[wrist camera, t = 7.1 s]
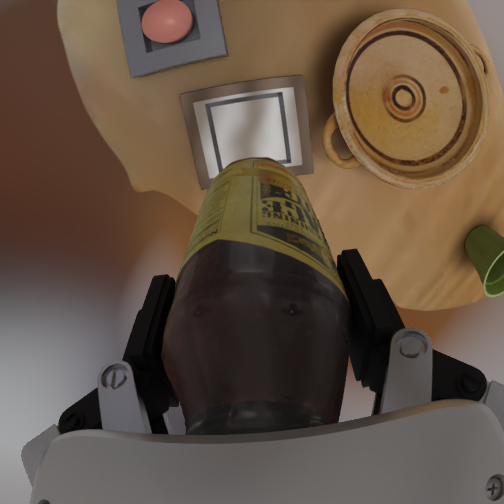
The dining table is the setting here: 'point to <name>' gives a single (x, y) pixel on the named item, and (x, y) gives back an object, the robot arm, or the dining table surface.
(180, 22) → the button
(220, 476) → the robot arm
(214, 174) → the pad
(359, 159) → the ceramic bowl
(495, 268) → the plant pot
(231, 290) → the sauce bottle
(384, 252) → the dining table surface
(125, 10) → the button housing
